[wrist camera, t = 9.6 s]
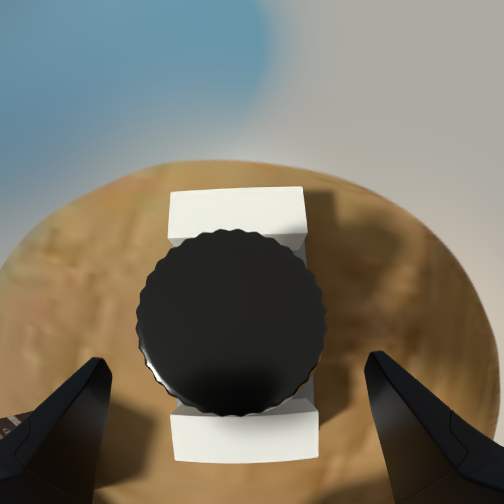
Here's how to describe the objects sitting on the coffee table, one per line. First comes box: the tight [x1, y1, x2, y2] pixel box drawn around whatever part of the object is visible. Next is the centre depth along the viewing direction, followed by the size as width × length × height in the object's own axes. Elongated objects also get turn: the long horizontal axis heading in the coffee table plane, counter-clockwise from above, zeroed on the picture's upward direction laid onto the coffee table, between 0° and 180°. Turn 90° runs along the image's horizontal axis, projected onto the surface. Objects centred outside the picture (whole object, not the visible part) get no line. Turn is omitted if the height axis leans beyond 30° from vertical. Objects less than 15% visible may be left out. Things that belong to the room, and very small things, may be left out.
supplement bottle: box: [136, 228, 328, 417], centre depth 12 cm, size 7×7×12 cm
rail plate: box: [168, 187, 318, 463], centre depth 17 cm, size 16×9×4 cm, turn 2°
